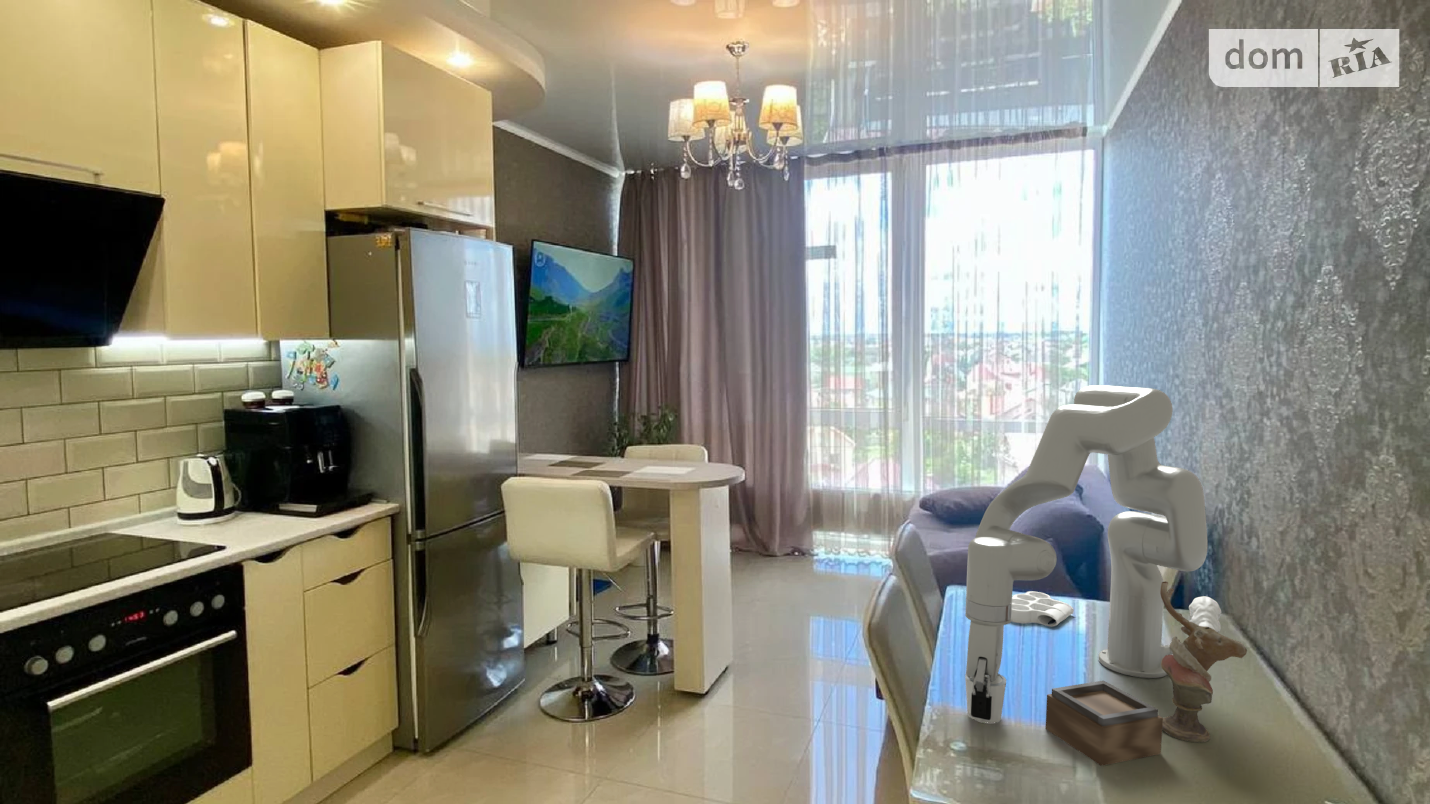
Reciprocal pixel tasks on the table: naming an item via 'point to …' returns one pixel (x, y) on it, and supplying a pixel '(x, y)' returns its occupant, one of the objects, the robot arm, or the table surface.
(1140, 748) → the display riser
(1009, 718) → the table surface
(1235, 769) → the table surface
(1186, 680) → the decorative bust
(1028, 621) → the white flat perforated piece
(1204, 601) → the white lumpy piece
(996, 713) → the white short cylinder
